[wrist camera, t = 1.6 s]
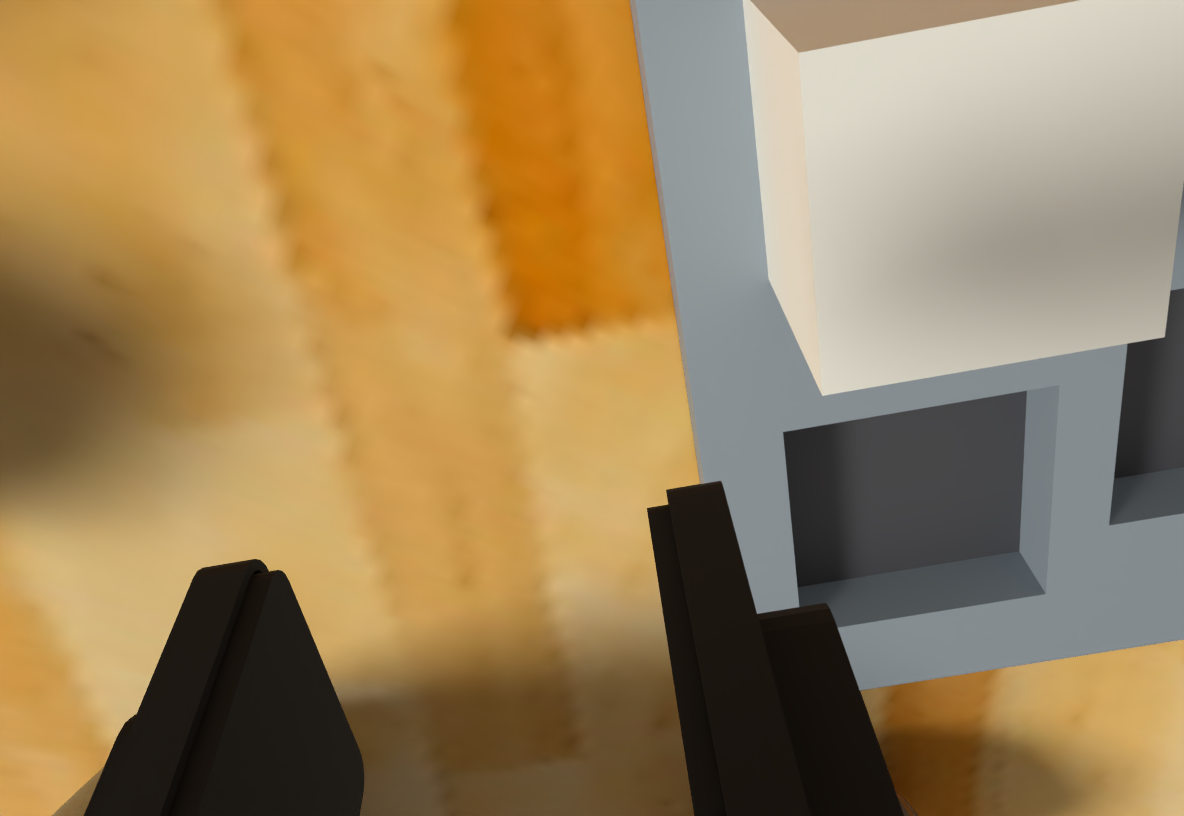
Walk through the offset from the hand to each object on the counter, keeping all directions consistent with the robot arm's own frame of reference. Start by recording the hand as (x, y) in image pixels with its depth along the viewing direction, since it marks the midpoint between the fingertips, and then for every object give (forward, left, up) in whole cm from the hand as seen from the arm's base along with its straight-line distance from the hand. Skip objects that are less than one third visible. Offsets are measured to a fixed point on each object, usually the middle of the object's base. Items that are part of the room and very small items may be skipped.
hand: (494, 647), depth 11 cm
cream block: (0, +8, -13) cm, 15 cm away
